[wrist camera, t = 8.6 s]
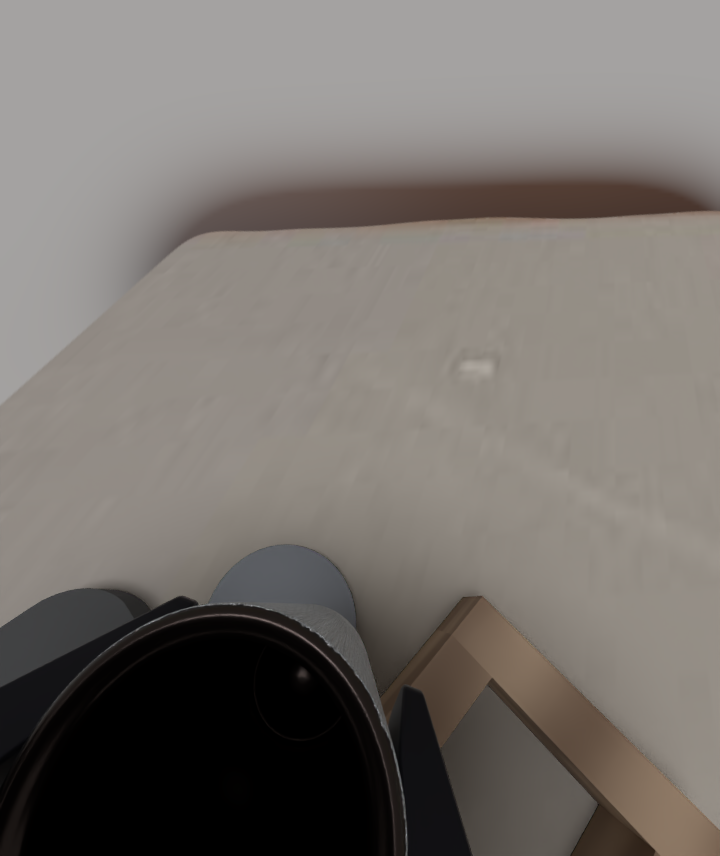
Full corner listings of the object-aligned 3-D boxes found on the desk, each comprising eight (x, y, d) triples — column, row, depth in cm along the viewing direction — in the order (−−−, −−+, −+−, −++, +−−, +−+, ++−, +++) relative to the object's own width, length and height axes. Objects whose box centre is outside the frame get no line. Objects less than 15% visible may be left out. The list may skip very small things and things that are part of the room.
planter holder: (669, 805, 17) (741, 851, 14) (514, 1123, 13) (564, 1289, 10) (462, 597, 20) (482, 596, 17) (296, 800, 17) (282, 846, 14)
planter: (246, 607, 14) (37, 611, 5) (365, 600, 14) (390, 592, 5) (235, 761, 12) (-164, 1294, 3) (373, 751, 12) (439, 1217, 3)
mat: (386, 625, 20) (387, 625, 19) (268, 759, 17) (266, 764, 17) (291, 517, 22) (289, 515, 22) (176, 622, 20) (171, 622, 19)
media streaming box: (-59, 1200, 12) (-173, 1365, 10) (-168, 790, 17) (-267, 825, 14) (280, 800, 17) (266, 837, 14) (123, 558, 21) (90, 552, 19)
